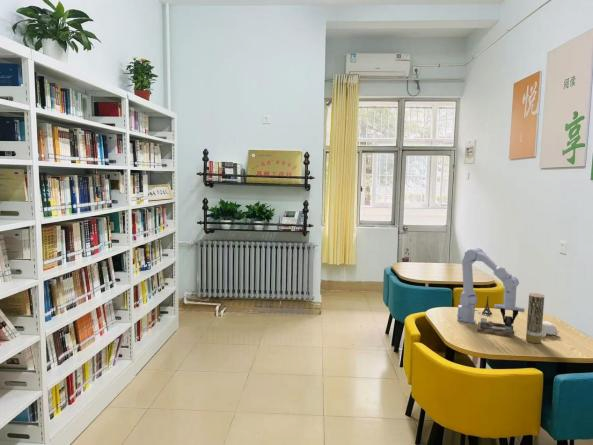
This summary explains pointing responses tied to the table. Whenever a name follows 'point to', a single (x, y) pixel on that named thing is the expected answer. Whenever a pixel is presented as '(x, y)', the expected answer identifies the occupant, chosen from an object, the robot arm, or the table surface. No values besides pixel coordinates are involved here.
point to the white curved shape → (548, 329)
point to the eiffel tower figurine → (486, 310)
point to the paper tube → (535, 317)
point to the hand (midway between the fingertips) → (508, 322)
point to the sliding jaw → (508, 322)
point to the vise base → (494, 328)
